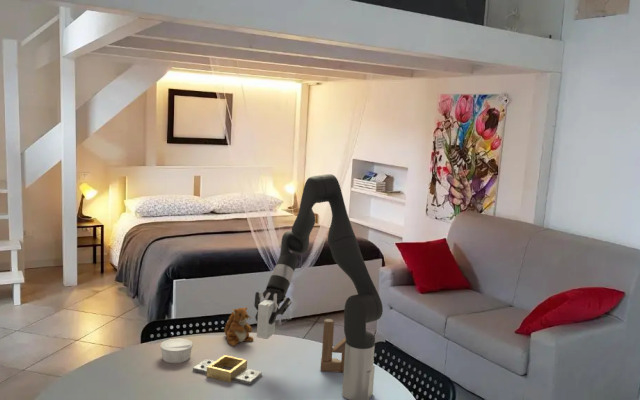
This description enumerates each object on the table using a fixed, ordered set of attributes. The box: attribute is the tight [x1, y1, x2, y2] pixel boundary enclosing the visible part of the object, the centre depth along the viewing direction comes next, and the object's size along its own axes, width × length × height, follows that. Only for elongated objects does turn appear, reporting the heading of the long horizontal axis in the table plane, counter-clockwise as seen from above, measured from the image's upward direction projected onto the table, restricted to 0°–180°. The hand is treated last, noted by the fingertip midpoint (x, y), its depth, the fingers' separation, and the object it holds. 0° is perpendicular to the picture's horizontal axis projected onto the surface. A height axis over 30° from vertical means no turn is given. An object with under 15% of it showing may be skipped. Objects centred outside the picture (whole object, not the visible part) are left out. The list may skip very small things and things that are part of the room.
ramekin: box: [159, 337, 194, 364], centre depth 193 cm, size 11×11×5 cm
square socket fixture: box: [192, 354, 263, 386], centre depth 184 cm, size 22×11×4 cm, turn 69°
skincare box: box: [256, 300, 276, 340], centre depth 189 cm, size 6×4×12 cm
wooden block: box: [320, 318, 346, 374], centre depth 190 cm, size 4×11×18 cm, turn 89°
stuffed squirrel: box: [223, 306, 254, 347], centre depth 214 cm, size 10×14×13 cm
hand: (263, 322), depth 187 cm, fingers closed on skincare box, 4 cm apart
